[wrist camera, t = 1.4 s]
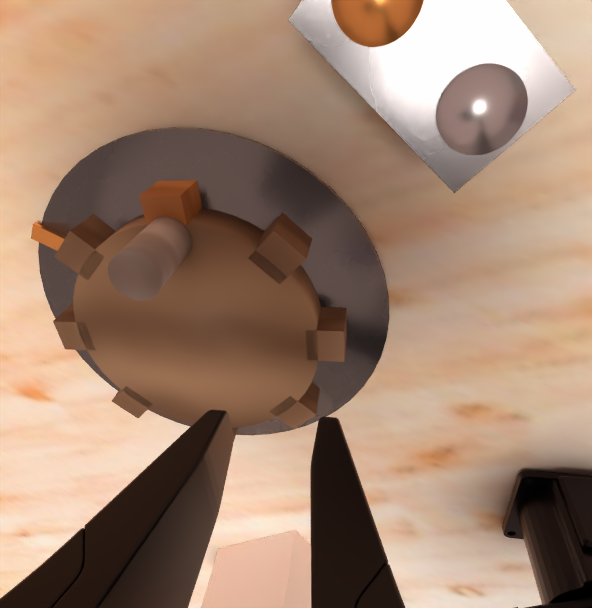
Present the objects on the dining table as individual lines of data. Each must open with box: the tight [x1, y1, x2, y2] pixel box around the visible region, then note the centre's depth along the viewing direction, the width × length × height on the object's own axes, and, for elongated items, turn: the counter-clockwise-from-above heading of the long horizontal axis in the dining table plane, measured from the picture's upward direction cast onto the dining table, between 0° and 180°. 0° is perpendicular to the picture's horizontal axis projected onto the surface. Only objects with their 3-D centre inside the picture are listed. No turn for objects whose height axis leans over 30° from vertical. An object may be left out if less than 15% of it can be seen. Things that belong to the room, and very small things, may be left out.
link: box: [288, 0, 575, 193], centre depth 14 cm, size 7×4×5 cm, turn 49°
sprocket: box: [53, 180, 347, 442], centre depth 22 cm, size 15×15×5 cm
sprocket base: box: [31, 128, 389, 435], centre depth 24 cm, size 19×19×1 cm
